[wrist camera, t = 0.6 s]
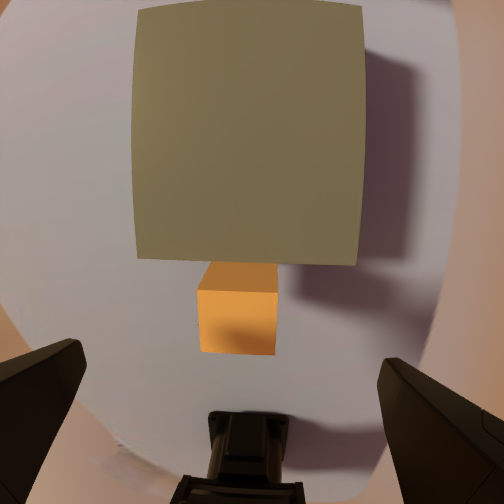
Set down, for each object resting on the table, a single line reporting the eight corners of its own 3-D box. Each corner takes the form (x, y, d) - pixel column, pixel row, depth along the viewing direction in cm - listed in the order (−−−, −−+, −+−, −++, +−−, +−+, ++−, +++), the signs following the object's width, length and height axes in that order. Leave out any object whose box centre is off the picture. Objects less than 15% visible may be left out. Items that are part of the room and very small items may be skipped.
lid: (341, 302, 17) (363, 354, 13) (154, 295, 18) (119, 342, 13) (353, 19, 13) (381, -24, 8) (150, 21, 13) (110, -16, 8)
